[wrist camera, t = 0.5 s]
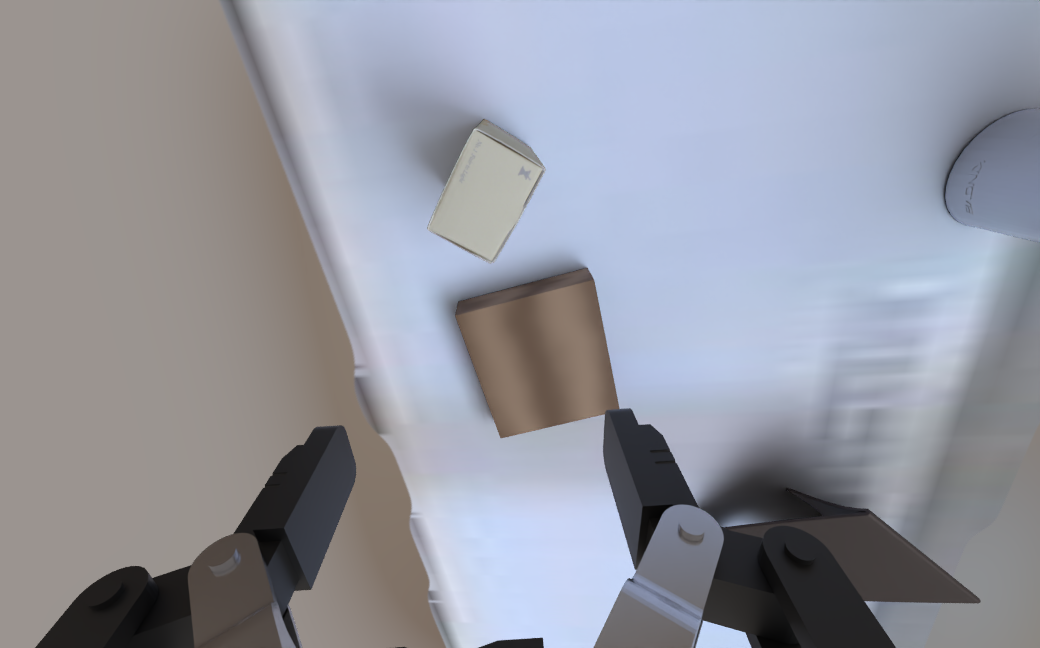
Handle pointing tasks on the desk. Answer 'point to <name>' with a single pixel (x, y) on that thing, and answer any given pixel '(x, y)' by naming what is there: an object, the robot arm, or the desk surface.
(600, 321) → the walnut stand
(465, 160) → the skincare box
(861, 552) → the portable electronic device stand
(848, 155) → the desk surface
